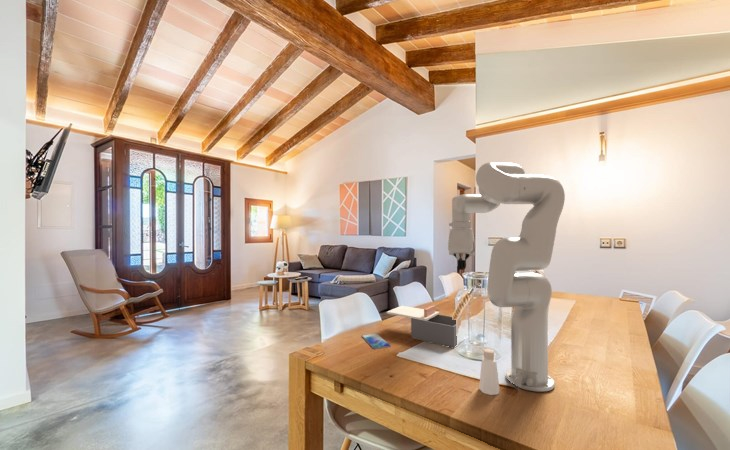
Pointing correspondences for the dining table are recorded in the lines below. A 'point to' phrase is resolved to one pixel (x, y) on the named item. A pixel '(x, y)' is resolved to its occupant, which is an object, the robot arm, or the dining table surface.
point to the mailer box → (435, 330)
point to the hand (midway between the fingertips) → (461, 269)
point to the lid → (414, 312)
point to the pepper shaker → (489, 374)
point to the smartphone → (375, 341)
